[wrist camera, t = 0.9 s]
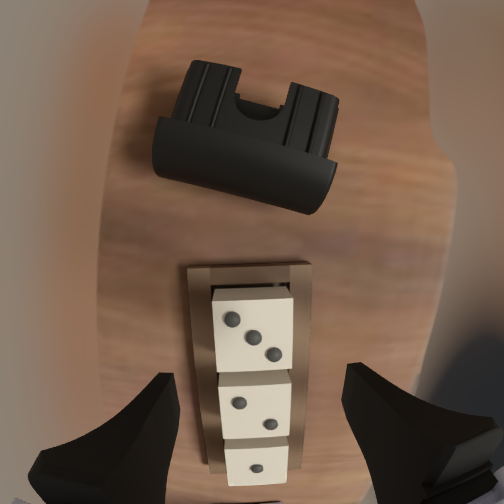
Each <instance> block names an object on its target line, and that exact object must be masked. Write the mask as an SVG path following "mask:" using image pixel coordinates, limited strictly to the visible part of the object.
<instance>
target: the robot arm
mask: <svg viewBox="0 0 504 504" xmlns="http://www.w3.org/2000/svg"><path fill="white" fill-rule="evenodd" d="M341 401H342V404H343V408H344V412H345V415H346V418H347V421H348V423H349V425H350V427H351V429H352V432H353V434H354V436H355V438H356V440H357V442H358V444H359V447H360V449H361V451H362V453H363V455H364V458H365V460H366V463H367V466H368V469H369V472H370V476H371V479H372V483H373V486H374V490H375V494H376V498H377V502H378V504H504V467H502V468H500V469H499V470H497V471H496V472H495V473H494V474H493V473H492V472H491V470H490V469H492V467H493V465H492V463H491V462H490V461H489V460H490V458H491V457H492V455H493V454H494V452H495V450H496V449H497V447H498V446H499V444H500V442H501V440H502V437H503V429H502V428H501V427H500V426H499V425H498V424H497V423H496V421H495V420H494V419H493V418H492V417H485V416H475V415H468V414H463V413H459V412H455V411H451V410H447V409H444V408H441V407H438V406H435V405H433V404H430V403H427V402H425V401H423V400H421V399H419V398H416V397H415V396H413V395H411V394H409V393H407V392H405V391H404V390H402V389H400V388H398V387H397V386H395V385H394V384H392V383H391V382H389V381H388V380H386V379H385V378H383V377H382V376H380V375H379V374H377V373H376V372H374V371H373V370H372V369H370V368H369V367H367V366H366V365H364V364H363V363H361V362H358V363H350V364H347V369H346V375H345V381H344V387H343V393H342V399H341ZM179 417H180V405H179V400H178V395H177V390H176V385H175V379H174V373H158V374H157V375H156V376H155V377H154V378H153V379H152V381H151V382H150V383H149V384H148V385H147V386H146V387H145V388H144V389H143V390H142V391H141V392H140V393H139V394H138V395H137V396H136V397H135V398H134V399H133V400H132V401H131V402H130V403H129V404H128V405H127V406H126V407H125V408H124V409H123V410H121V411H120V412H119V413H118V414H117V415H115V416H114V417H113V418H111V419H110V420H109V421H107V422H106V423H104V424H103V425H101V426H100V427H98V428H97V429H94V430H93V431H91V432H89V433H87V434H86V435H84V436H81V437H79V438H77V439H75V440H73V441H70V442H68V443H65V444H62V445H59V446H56V447H53V448H49V449H46V450H42V451H41V452H40V453H39V455H38V457H37V459H36V460H35V462H34V464H33V466H32V468H31V470H30V471H29V473H28V480H29V482H30V484H31V486H32V487H33V489H34V490H35V491H36V492H37V494H38V495H39V496H40V497H41V498H42V500H43V501H44V502H45V503H46V504H165V494H166V483H167V475H168V470H169V465H170V461H171V457H172V453H173V449H174V445H175V441H176V437H177V432H178V427H179ZM12 504H29V503H27V502H25V501H22V500H20V499H18V498H14V500H13V502H12ZM262 504H283V503H281V502H275V503H262Z"/></svg>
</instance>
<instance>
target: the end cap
mask: <svg viewBox="0 0 504 504" xmlns="http://www.w3.org/2000/svg"><path fill="white" fill-rule="evenodd" d="M241 72H242V69H241V68H236V67H232V66H227V65H222V64H217V63H212V62H206V61H201V60H194V61H192V62H191V65H190V67H189V69H188V71H187V73H186V76H185V79H184V82H183V84H182V87H181V90H180V93H179V96H178V99H177V102H176V105H175V108H174V111H173V114H172V117H171V118H165V117H159V118H158V122H157V125H156V129H155V134H154V140H153V147H152V164H153V169H154V171H155V173H156V174H157V175H158V176H159V177H163V178H167V179H171V180H176V181H180V182H184V183H188V184H192V185H197V186H201V187H205V188H209V189H213V190H217V191H221V192H225V193H229V194H233V195H236V196H240V197H244V198H248V199H252V200H256V201H259V202H263V203H267V204H270V205H274V206H278V207H281V208H285V209H288V210H292V211H296V212H299V213H303V214H306V215H311V214H313V213H315V212H316V211H317V210H318V209H319V207H320V206H321V205H322V203H323V201H324V199H325V197H326V195H327V193H328V191H329V189H330V186H331V184H332V181H333V178H334V175H335V172H336V168H337V164H338V163H337V162H334V161H331V160H328V159H327V157H328V153H329V149H330V145H331V140H332V136H333V132H334V128H335V123H336V119H337V114H338V110H339V108H338V105H339V99H338V98H337V97H335V96H333V95H331V94H328V93H325V92H322V91H319V90H316V89H313V88H310V87H307V86H304V85H300V84H297V83H294V82H291V84H290V87H289V91H288V95H287V98H286V102H285V106H283V105H280V108H279V109H276V108H272V107H269V106H265V105H261V104H257V103H254V102H250V101H246V100H242V99H239V98H240V94H238V93H235V90H236V87H237V84H238V81H239V78H240V75H241Z"/></svg>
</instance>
